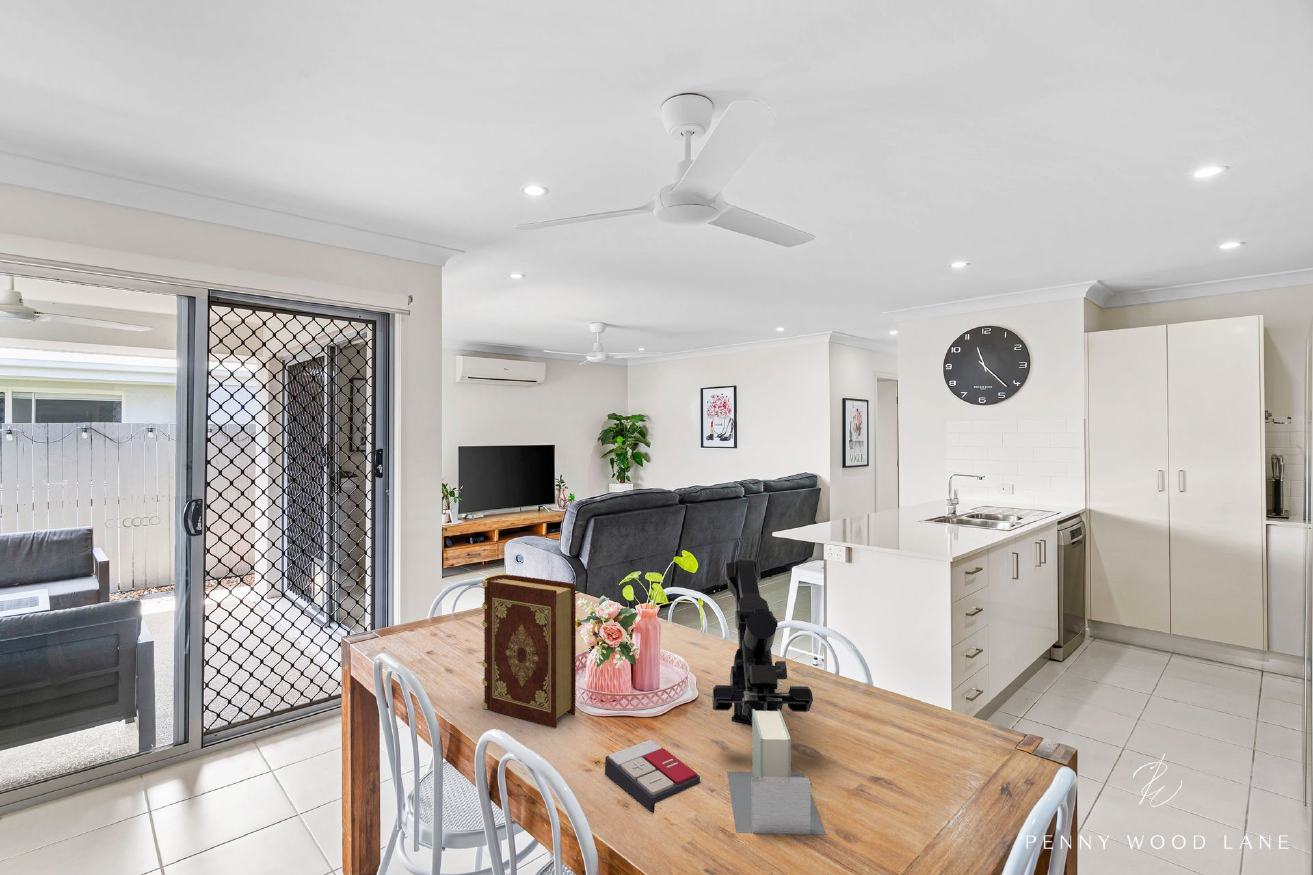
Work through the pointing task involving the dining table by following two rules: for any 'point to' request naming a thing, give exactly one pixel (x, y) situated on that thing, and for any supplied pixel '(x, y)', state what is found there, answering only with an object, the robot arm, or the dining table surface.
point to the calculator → (649, 773)
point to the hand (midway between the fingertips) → (765, 745)
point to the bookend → (780, 805)
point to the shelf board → (742, 804)
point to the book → (770, 745)
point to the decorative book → (529, 647)
